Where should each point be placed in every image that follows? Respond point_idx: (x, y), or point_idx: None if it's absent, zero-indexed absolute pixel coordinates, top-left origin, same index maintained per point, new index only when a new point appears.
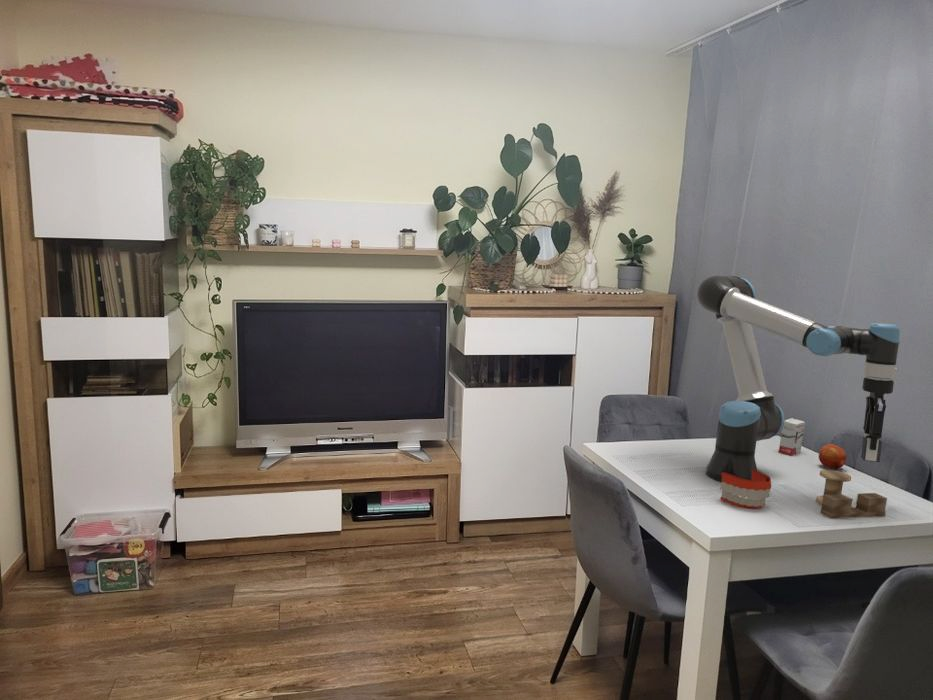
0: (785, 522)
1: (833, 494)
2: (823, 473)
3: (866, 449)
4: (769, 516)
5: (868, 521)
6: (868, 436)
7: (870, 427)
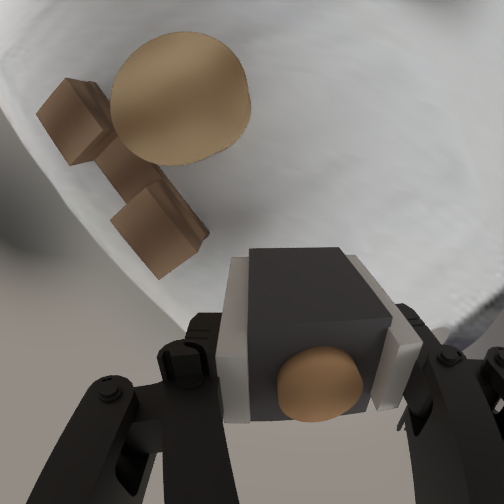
0: (9, 38)
1: (83, 105)
2: (156, 47)
3: (237, 289)
4: (29, 4)
5: (100, 205)
6: (161, 365)
7: (172, 468)
